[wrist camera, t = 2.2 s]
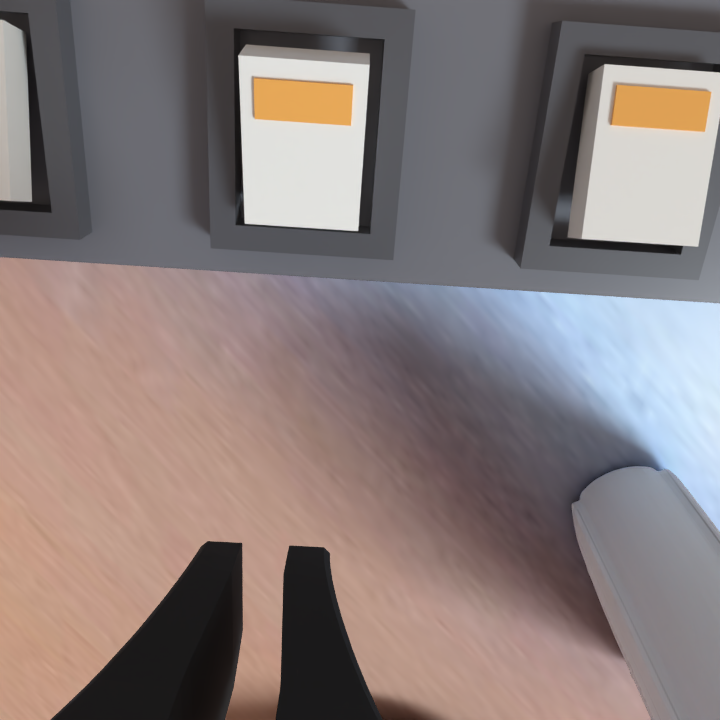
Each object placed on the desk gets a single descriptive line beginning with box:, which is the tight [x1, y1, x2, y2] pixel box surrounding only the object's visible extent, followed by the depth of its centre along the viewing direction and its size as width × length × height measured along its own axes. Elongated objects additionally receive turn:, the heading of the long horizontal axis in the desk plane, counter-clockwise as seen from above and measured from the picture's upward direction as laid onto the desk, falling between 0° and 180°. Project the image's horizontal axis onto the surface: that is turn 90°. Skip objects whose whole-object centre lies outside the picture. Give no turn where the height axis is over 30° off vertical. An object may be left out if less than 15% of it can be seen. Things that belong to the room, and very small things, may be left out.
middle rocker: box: [238, 45, 370, 231], centre depth 15 cm, size 3×4×1 cm
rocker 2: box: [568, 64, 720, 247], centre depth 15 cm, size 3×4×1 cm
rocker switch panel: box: [0, 0, 720, 303], centre depth 17 cm, size 32×7×4 cm, turn 86°
